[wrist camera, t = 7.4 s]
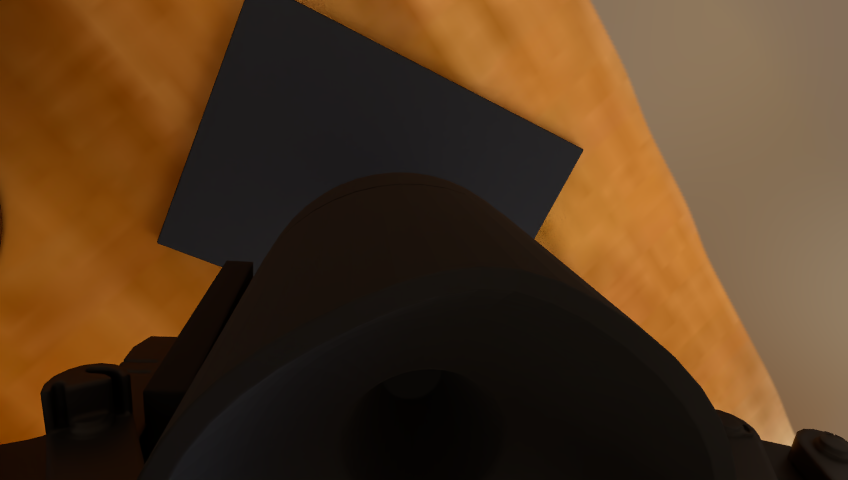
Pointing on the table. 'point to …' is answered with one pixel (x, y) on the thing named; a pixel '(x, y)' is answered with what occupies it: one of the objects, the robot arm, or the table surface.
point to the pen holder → (432, 359)
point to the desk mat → (341, 135)
